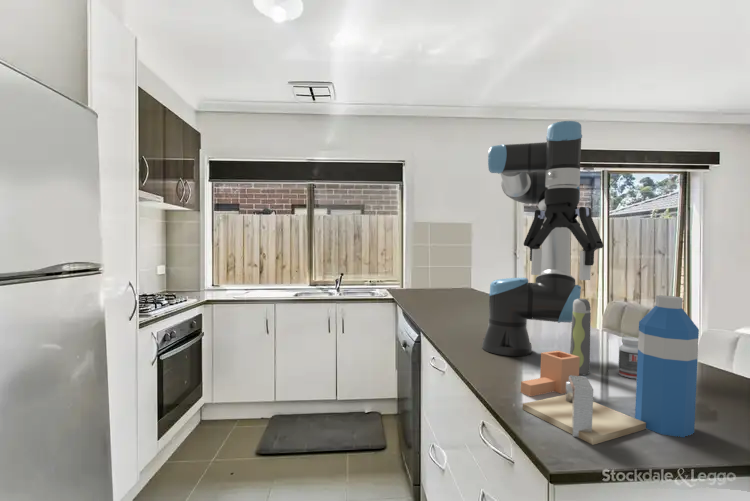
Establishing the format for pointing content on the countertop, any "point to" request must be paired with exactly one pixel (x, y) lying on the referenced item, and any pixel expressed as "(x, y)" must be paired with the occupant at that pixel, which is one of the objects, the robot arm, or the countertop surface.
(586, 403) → the block
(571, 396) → the pintle
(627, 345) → the pill bottle
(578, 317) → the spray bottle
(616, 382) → the countertop surface
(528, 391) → the link
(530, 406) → the board
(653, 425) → the water bottle
